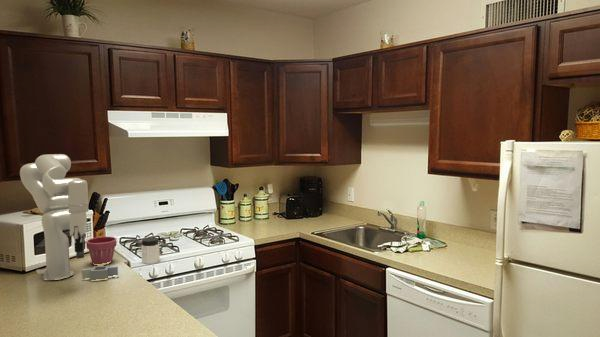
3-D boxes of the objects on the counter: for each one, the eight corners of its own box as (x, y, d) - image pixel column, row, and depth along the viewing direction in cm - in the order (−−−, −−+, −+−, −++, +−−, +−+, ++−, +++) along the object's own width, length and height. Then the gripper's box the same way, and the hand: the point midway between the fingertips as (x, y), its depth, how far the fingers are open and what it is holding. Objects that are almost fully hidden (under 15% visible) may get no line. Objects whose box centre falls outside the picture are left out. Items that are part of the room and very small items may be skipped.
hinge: (80, 282, 188) (80, 271, 188) (84, 277, 195) (84, 267, 195) (116, 279, 192) (116, 269, 192) (119, 274, 199) (118, 264, 199)
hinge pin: (72, 259, 178) (71, 235, 177) (75, 256, 182) (74, 233, 182) (85, 258, 179) (84, 235, 178) (87, 255, 184) (86, 232, 183)
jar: (138, 262, 219) (137, 240, 218) (151, 258, 226) (150, 236, 225) (150, 265, 214) (149, 242, 213) (162, 260, 221) (162, 238, 221)
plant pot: (115, 266, 212) (114, 241, 211) (84, 269, 208) (83, 243, 207) (118, 258, 225) (118, 235, 225) (90, 261, 222) (89, 237, 221)
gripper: (73, 205, 186) (75, 246, 187) (63, 212, 170) (65, 256, 172) (92, 205, 188) (93, 245, 189) (83, 211, 172) (85, 255, 174)
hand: (80, 250), depth 180 cm, fingers closed on hinge pin, 3 cm apart
